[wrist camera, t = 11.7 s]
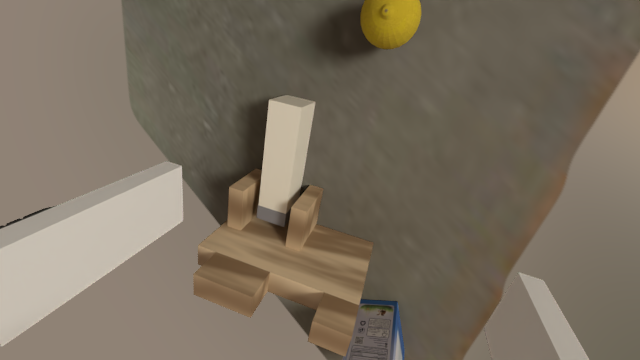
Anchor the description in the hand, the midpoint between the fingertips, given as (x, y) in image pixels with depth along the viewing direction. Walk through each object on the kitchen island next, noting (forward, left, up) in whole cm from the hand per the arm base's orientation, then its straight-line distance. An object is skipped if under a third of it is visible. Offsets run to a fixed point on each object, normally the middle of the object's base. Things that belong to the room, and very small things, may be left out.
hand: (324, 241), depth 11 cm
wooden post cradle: (+16, -7, -27) cm, 32 cm away
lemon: (-10, -2, -27) cm, 29 cm away
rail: (+8, -11, -27) cm, 30 cm away
